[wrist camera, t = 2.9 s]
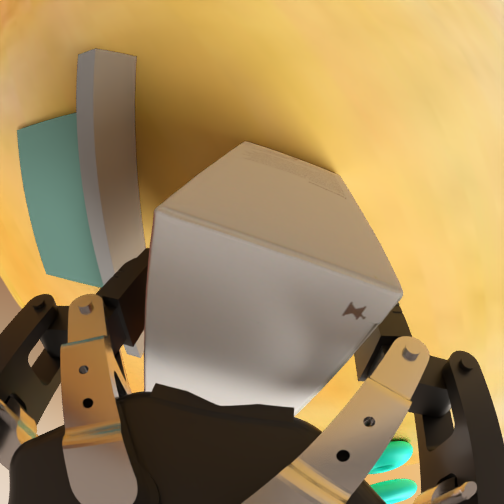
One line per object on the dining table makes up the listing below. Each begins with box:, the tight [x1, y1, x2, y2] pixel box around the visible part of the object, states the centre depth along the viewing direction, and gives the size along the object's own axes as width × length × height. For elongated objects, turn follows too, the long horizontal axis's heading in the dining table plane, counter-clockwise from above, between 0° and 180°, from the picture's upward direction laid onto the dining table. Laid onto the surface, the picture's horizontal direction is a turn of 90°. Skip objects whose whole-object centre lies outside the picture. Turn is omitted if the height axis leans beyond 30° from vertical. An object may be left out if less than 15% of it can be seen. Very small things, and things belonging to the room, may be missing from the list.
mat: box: [17, 113, 104, 288], centre depth 17 cm, size 14×11×1 cm
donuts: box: [368, 441, 417, 504], centre depth 27 cm, size 10×10×10 cm
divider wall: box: [76, 49, 146, 358], centre depth 15 cm, size 20×1×4 cm, turn 178°
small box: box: [144, 141, 403, 416], centre depth 11 cm, size 8×6×10 cm
